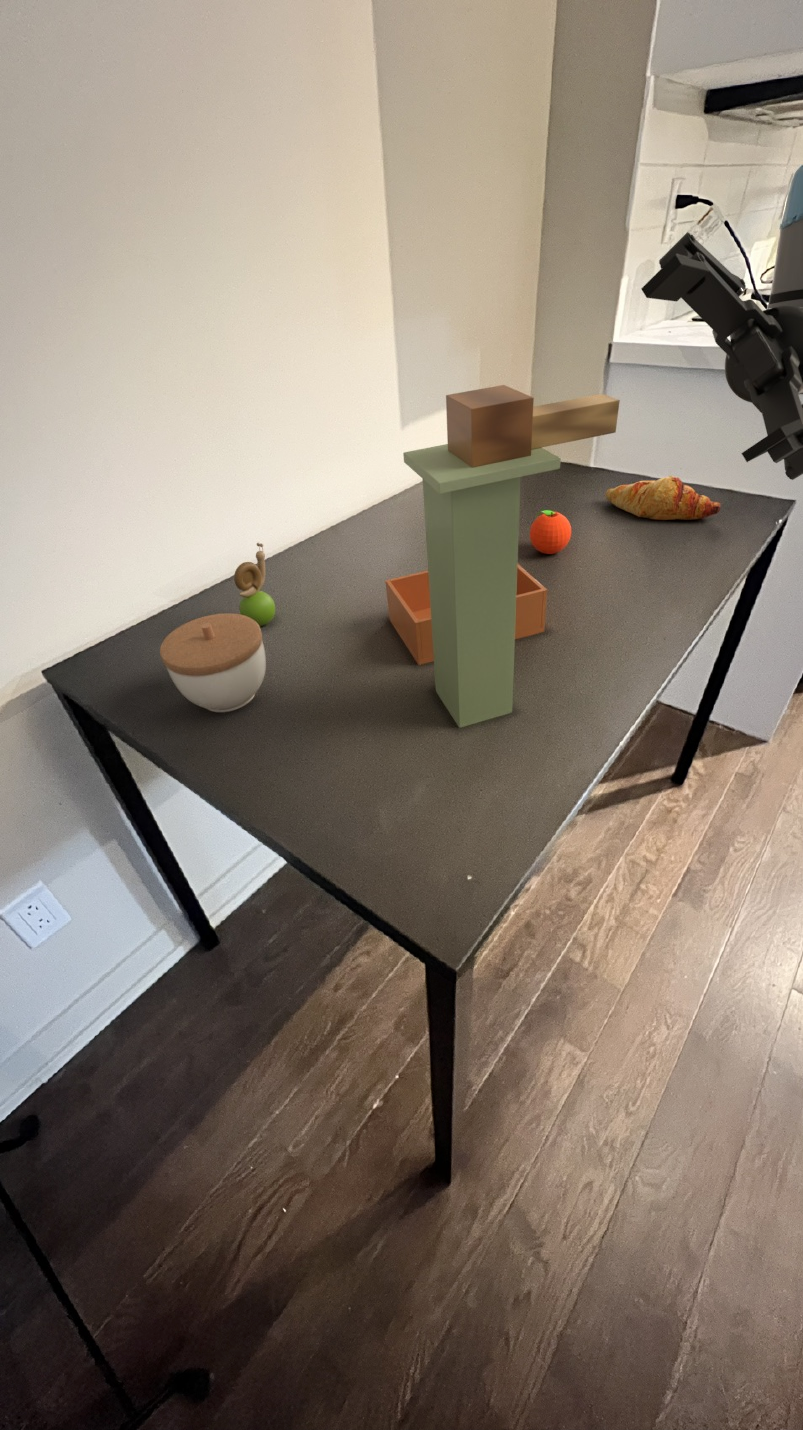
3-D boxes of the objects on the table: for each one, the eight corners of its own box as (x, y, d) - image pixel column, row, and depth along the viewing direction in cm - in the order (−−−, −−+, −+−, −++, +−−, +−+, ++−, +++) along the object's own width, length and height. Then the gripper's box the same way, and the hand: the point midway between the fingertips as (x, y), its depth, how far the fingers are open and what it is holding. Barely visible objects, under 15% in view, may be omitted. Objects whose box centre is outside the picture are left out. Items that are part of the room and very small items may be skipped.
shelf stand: (505, 667, 84) (512, 431, 65) (542, 710, 76) (561, 457, 57) (422, 690, 81) (403, 452, 62) (450, 736, 74) (439, 482, 55)
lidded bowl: (284, 708, 81) (265, 636, 74) (186, 737, 78) (156, 665, 71) (266, 659, 90) (247, 591, 83) (178, 683, 87) (151, 614, 80)
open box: (503, 591, 99) (504, 552, 95) (544, 632, 89) (547, 589, 85) (389, 620, 96) (385, 580, 91) (418, 665, 86) (415, 622, 81)
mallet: (591, 422, 65) (596, 368, 61) (624, 436, 60) (632, 379, 57) (447, 450, 62) (445, 394, 58) (472, 467, 57) (471, 408, 54)
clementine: (517, 547, 111) (519, 508, 106) (550, 537, 113) (553, 499, 108) (543, 564, 105) (546, 524, 101) (577, 554, 107) (582, 513, 103)
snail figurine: (290, 616, 99) (273, 545, 91) (260, 636, 95) (241, 563, 88) (266, 608, 102) (248, 539, 94) (237, 627, 98) (216, 556, 90)
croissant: (597, 524, 123) (592, 495, 117) (617, 485, 126) (613, 455, 119) (709, 542, 112) (711, 512, 106) (729, 499, 115) (732, 467, 108)
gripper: (806, 496, 60) (752, 544, 46) (671, 274, 60) (575, 254, 46) (896, 444, 55) (866, 481, 41) (749, 199, 54) (666, 150, 40)
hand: (711, 361), depth 43 cm, fingers open, 13 cm apart
